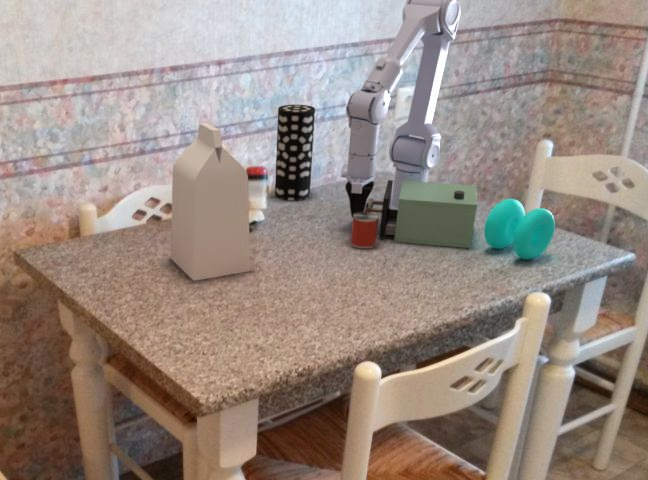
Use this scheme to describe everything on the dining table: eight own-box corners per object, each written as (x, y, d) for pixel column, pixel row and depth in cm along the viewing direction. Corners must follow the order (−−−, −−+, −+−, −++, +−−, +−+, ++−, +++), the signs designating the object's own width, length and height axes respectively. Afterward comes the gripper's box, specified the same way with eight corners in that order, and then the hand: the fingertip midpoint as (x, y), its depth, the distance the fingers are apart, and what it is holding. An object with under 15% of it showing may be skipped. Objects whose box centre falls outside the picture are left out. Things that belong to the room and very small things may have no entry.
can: (351, 238, 168) (354, 210, 165) (376, 241, 167) (379, 212, 164) (349, 247, 164) (351, 218, 161) (374, 249, 163) (377, 220, 160)
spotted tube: (273, 199, 191) (276, 111, 181) (276, 189, 198) (279, 104, 188) (308, 201, 190) (314, 113, 179) (310, 190, 197) (316, 105, 187)
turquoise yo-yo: (510, 240, 167) (519, 193, 162) (551, 255, 160) (562, 206, 155) (477, 250, 163) (485, 201, 157) (518, 266, 155) (528, 215, 150)
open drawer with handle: (366, 216, 179) (370, 178, 175) (453, 223, 175) (459, 185, 171) (361, 236, 168) (364, 196, 164) (453, 244, 164) (459, 204, 160)
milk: (170, 258, 159) (166, 122, 146) (224, 249, 163) (225, 116, 150) (193, 280, 150) (192, 137, 137) (250, 271, 154) (253, 130, 140)
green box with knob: (397, 221, 178) (403, 174, 173) (469, 227, 174) (477, 180, 169) (394, 241, 167) (399, 193, 162) (469, 248, 164) (478, 198, 158)
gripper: (347, 142, 173) (342, 204, 180) (338, 160, 161) (333, 226, 168) (380, 144, 171) (374, 207, 178) (374, 163, 159) (368, 229, 166)
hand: (356, 216), depth 173 cm, fingers closed, pressing on open drawer with handle
